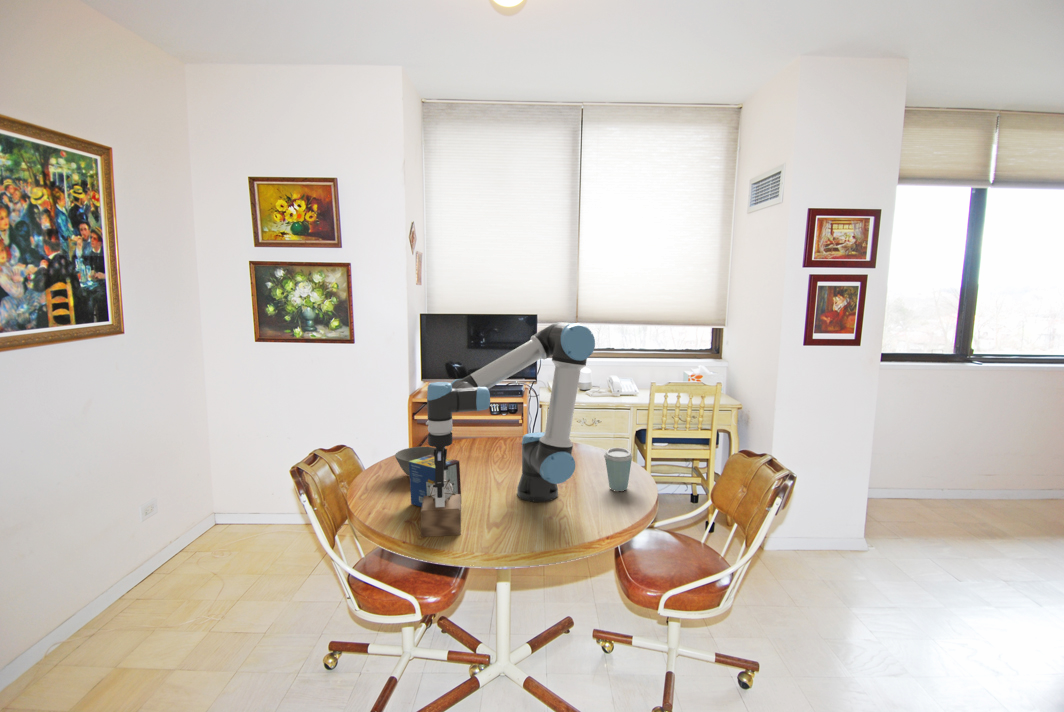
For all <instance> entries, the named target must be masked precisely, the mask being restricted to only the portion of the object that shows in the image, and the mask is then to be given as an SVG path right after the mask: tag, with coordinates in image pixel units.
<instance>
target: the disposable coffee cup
mask: <svg viewBox="0 0 1064 712" xmlns="http://www.w3.org/2000/svg"><path fill="white" fill-rule="evenodd" d="M603 457H604V459H605V466H606V472H607V479H608V486H609V489H610V488H611V489H612V490H615V491H624V490H626V491H627V489H628V486H629V479H630V474H631V465H632V461H633V453H632V452H631V451H630V450H629V449H627V448H624V447H610V448H608V449H606V451H605V452H604V456H603ZM611 489H610V490H611ZM612 490H611V491H612ZM615 491H614V492H615ZM624 492H625V491H624Z"/></svg>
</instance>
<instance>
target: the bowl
mask: <svg viewBox="0 0 1064 712" xmlns="http://www.w3.org/2000/svg"><path fill="white" fill-rule="evenodd" d="M434 449H436V447H432V446H414V447H413V446H412V447H407V448H403V449H401V450H398V451H397V452H396V453H395V454H394V457H395V460H396V461H397V463H398V466H399V467H400V468H401V470H402V471H403V472H404V474H406V475H407V476H408V477H409V478H410V474H409V461H411V460H415V459H418V458H422V457H425V456H428V455H434Z"/></svg>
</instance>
